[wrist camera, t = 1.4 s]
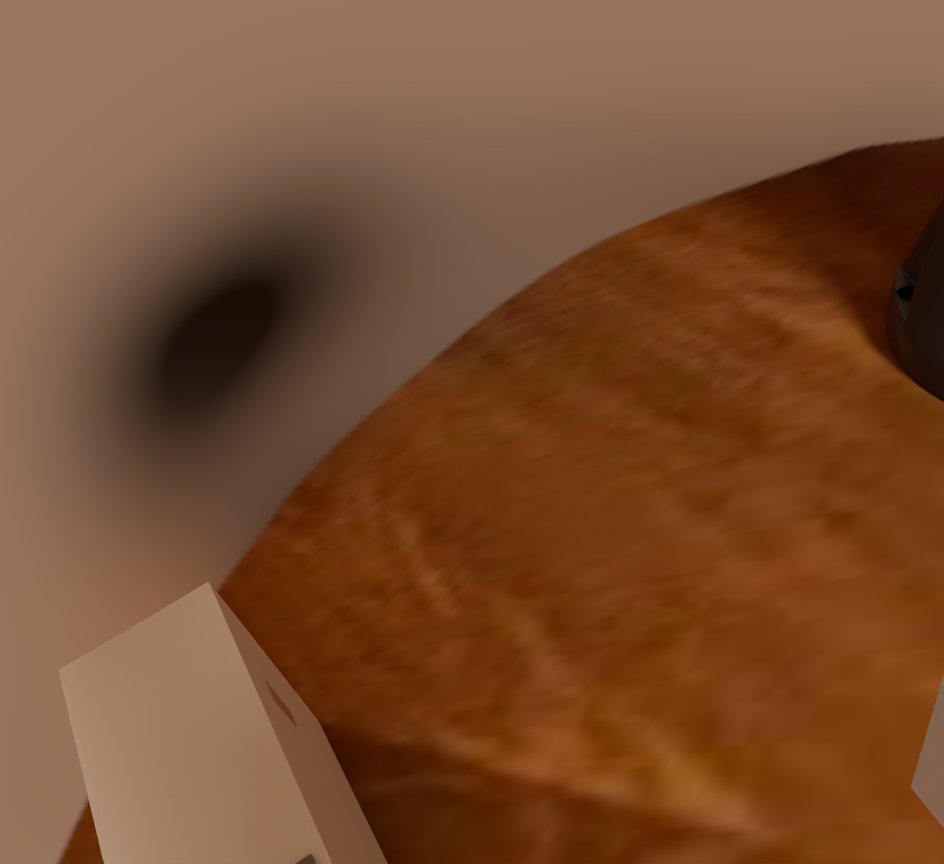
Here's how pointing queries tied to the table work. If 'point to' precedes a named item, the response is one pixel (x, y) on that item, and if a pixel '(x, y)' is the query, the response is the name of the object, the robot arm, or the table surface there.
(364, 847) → the white slotted block
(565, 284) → the table surface
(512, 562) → the table surface
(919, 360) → the robot arm
